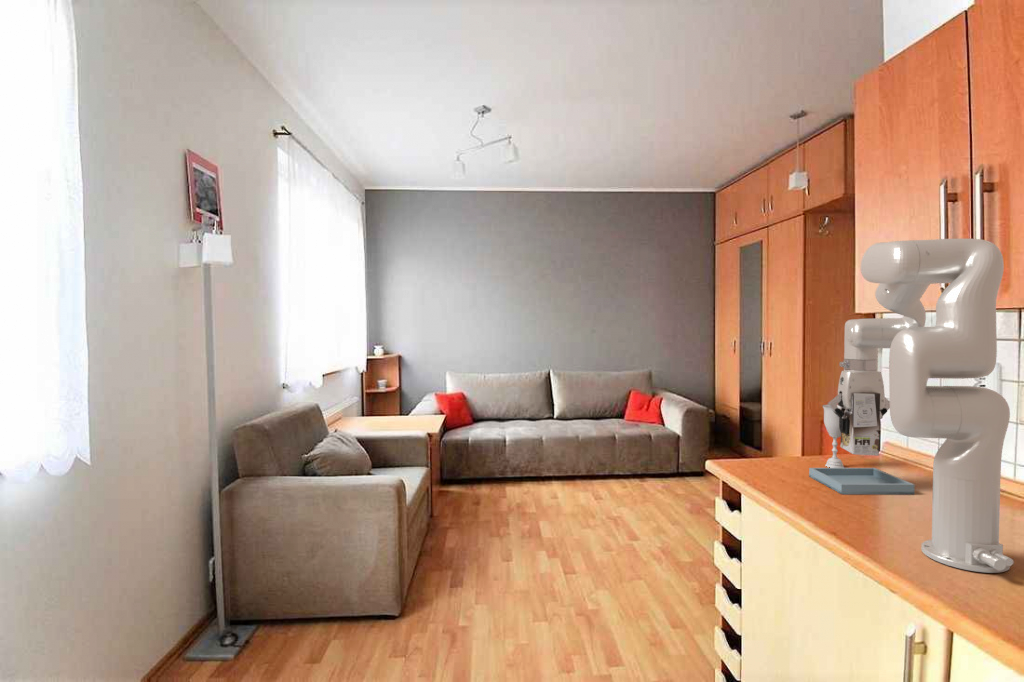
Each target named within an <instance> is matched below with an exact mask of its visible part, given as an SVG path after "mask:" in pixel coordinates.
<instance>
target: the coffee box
mask: <svg viewBox="0 0 1024 682" xmlns="http://www.w3.org/2000/svg"><path fill="white" fill-rule="evenodd" d="M847 419H849V420H850V429H849V434H844V433H841V436H840V448H841V449H843V450H845V451H847V452H849V453H850V454H852V455H859V456H861V455H862V456H880V430H879V425H880V426H881V419H880V393H877V392H861V393H852V410H850V414H849V416H848V418H847Z"/></svg>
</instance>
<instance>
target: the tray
mask: <svg viewBox="0 0 1024 682" xmlns="http://www.w3.org/2000/svg"><path fill="white" fill-rule="evenodd" d="M808 469H809V473H808V474H809V475H808V477H809V478H810V479H813V480H814V481H816V482H818V483H820V484H822V485H823V484H824V486H825V485H826V486H825V487H827V488H829V489H831V490H833V491H834V490H835V491H834V492H836V491H837V492H836V493H838V494H840V495H915V487H916V485H915V484H914V483H912V482H910V481H907V480H904V479H902V478H900V477H897V476H895V475H893V474H890V473H888V472H886V471H883V470H881V469H879V468H876V467H844V468H829V467H809V468H808Z"/></svg>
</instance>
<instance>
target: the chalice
mask: <svg viewBox="0 0 1024 682" xmlns="http://www.w3.org/2000/svg"><path fill="white" fill-rule="evenodd" d="M837 407H838V408H839V409H841V407H840V406H839V405H838V404H837ZM822 408H823V423H824V426H825V429H826V431H827V433H828V435H829V437H831V438H832V439H833V441H832V443H831V445H832V449H831V451H832V457H829V458H828V459H827V461H826V464H824V465H825V467H826V466H827V467H826V468H829V467H830V468H845V466H844V463H843V461H842V460H841V458H839V457H838V455H837V453H838V451H839V450H838V445H839V444H838V441H837V439H838V438H841V432H840V429H839V417H838V416H837V415H836V414H835V413H834V412H833V410H832V409H831V408H830V407H829V405H828V404H823V405H822Z"/></svg>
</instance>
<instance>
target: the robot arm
mask: <svg viewBox="0 0 1024 682" xmlns="http://www.w3.org/2000/svg"><path fill="white" fill-rule="evenodd" d="M1004 267H1005V265H1004V256H1003V254H1002V251H1001V250H1000V248H999V246H997V245H996V244H995V243H993V242H992V241H988V240H985V239H981V238H937V239H914V240H910V239H909V240H895V241H894V240H893V241H888V242H887V241H884V242H875V243H873V244H872V245H870V246H869V247H868V248H867V249H866V250H865V252H864V253H863V256H862V258H861V262H860V273H861V275H862V277H863V279H864V280H866V281H867V282H869V283H874V284H878V285H877V287H876V290H875V292H874V294H875V295H874V296H875V299H876V301H877V303H878V304H879V305H880V306H882V307H883V308H884V309H886V310H888V311H891V312H893V313H896V314H898V315H900V316H902V317H899V318H895V317H892V318H891V317H890V318H889V317H888V318H887V317H884V318H883V317H882V318H881V317H879V318H875V317H874V318H857V319H854V318H853V319H848V320H847V321H845V324H844V338H843V339H844V342H843V343H844V351H843V352H844V353H843V355H844V356H843V361H840V362H839V365H838V366H839V367H840V368H843V370H841V373H840V375H839V380H838V386H837V387H838V388H837V395H835V397H834V398H833V399H831V400H830V401H828V402H827V405H829V407H830V408H831V409H832V410H833V412H834V413H835V414H836V415H837V416H838V417H839V429H840V432H841V433H844V434H849V429H850V420H849V419H847V418H848V416H849V414H850V410H852V393H861V392H877V393H880V420H881V419H883V417H884V415H886V414H887V412H888V410H889V415H890V421H891V424H892V426H893V429H894V430H896V432H898V433H899V434H900V435H903V436H906V437H910V438H919V439H920V438H921V439H945V441H944V442H943V443H942V444H941V445H940V447H939V449H937V451H936V452H935V455H934V459H933V466H932V501H931V502H932V503H931V504H932V509H931V510H932V512H931V515H932V517H931V539H927V540H924V541H923V542H921V544H920V545H921V548H920V549H921V551H922V553H923V554H924V555H925V556H926V557H928V558H930V559H932V560H933V561H936V562H938V563H941V564H943V565H946V566H949V567H952V568H957V569H960V570H965V571H970V572H975V573H977V572H978V573H984V574H985V573H986V574H987V573H988V574H993V573H994V574H997V573H998V574H999V573H1003V572H1007V571H1008V570H1010V568H1011V566H1012V565H1014V560H1013V559H1012V558H1011V557H1010V556H1007V555H1004V554H1003V553H1004V545H1003V544H1002V543H1000V516H1001V515H1000V512H1001V511H1000V510H1001V509H1000V508H1001V507H1000V506H1001V478H1002V475H1001V474H1002V457H1003V456H1002V454H1003V447H1004V442H1005V438H1006V435H1007V430H1008V428H1009V422H1010V418H1011V412H1010V406H1009V403H1008V402H1007V400H1006V398H1005V397H1004V396H1003V395H1001V393H998V392H997V391H996V390H992V389H991V388H986V387H982V386H972V385H927V384H928V380H929V379H946V380H947V379H948V380H949V379H952V380H953V379H957V380H958V379H960V380H961V379H967V380H968V379H979V378H980V379H981V378H985V377H987V376H989V375H990V374H992V373H993V371H994V369H996V365H997V357H998V356H997V354H998V353H997V352H998V349H997V346H998V345H997V342H998V341H997V298H998V294H999V289H1000V285H1001V283H1002V279H1003V276H1004V269H1005V268H1004ZM932 284H934V285H936V284H948V286H947V287H945V289H944V290H943V291H942V292H941V294H940V295H939V296H938V299H937V301H936V304H935V312H936V313H935V317H936V319H935V320H936V321H935V325H934V326H926V318H927V316H926V314H927V313H926V309H925V307H924V305H923V302H922V301H921V298H922V297H923V295H924V294H925V292H926V291H927V289H928V288H929V286H930V285H932ZM879 349H889V352H888V353H889V354H888V355H889V357H888V370H889V371H888V378H889V381H888V383H889V386H888V387H889V389H888V390H889V399H888V398H887V397H885V384H884V380H883V378H884V377H883V375H882V371H878V368H879V367H878V365H879V364H878V361H879V360H878V359H879V358H878V357H879V356H878V355H879ZM837 405H839V406H840V407H841V409H839V408H838V407H837ZM880 430H881V424H880V425H879V431H880Z"/></svg>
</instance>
